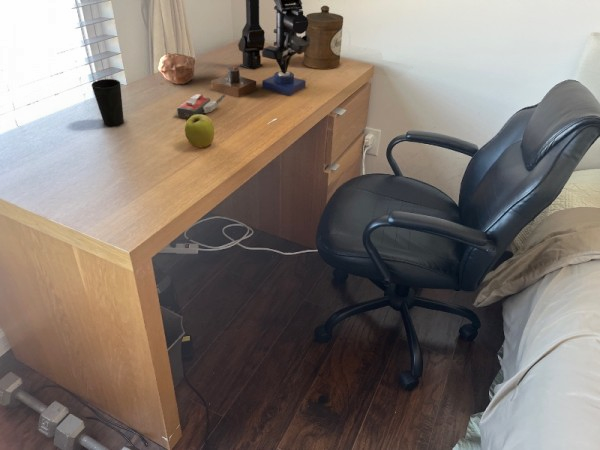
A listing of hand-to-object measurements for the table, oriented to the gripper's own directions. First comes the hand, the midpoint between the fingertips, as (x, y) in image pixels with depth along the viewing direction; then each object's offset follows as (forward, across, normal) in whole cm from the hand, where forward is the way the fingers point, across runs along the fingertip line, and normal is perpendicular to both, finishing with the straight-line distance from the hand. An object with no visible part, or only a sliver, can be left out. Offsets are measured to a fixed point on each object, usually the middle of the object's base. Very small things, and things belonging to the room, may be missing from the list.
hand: (284, 73), depth 168 cm
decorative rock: (+6, -18, +34) cm, 39 cm away
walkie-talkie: (+6, -32, +10) cm, 34 cm away
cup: (+6, -56, +23) cm, 61 cm away
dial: (+2, -12, +13) cm, 18 cm away
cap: (+2, 0, 0) cm, 2 cm away
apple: (+6, -51, -7) cm, 52 cm away
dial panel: (+5, -12, +13) cm, 18 cm away
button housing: (+5, 0, 0) cm, 5 cm away
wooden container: (+6, +33, +4) cm, 34 cm away
